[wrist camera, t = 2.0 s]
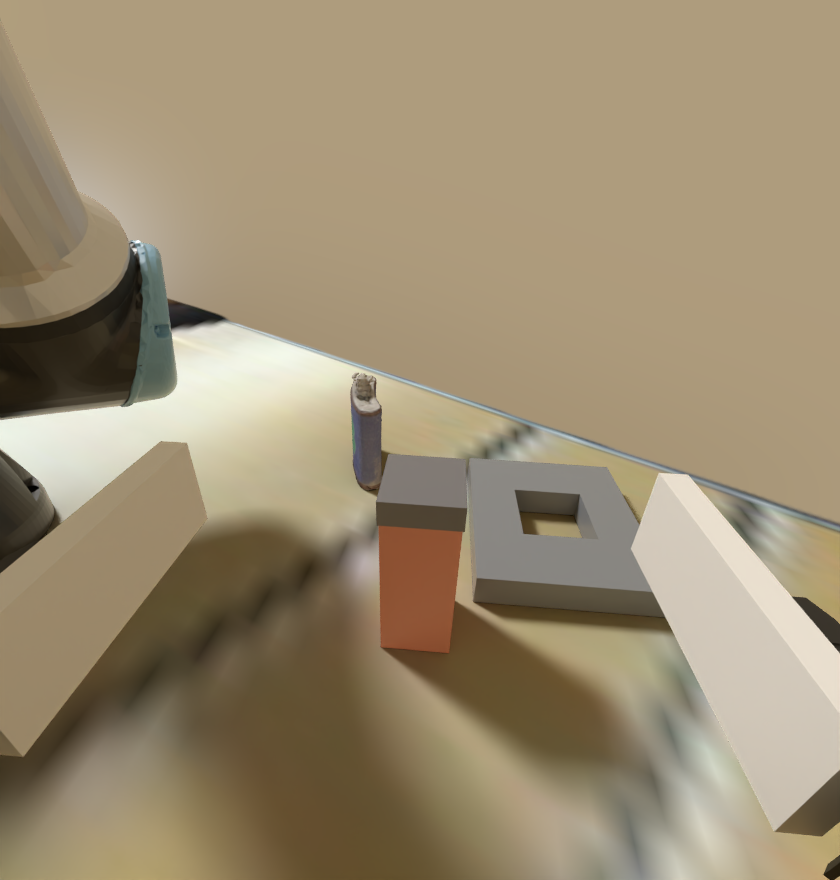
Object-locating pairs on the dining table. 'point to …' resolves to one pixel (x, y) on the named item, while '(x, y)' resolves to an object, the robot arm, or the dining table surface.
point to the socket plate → (554, 540)
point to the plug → (420, 549)
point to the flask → (366, 431)
